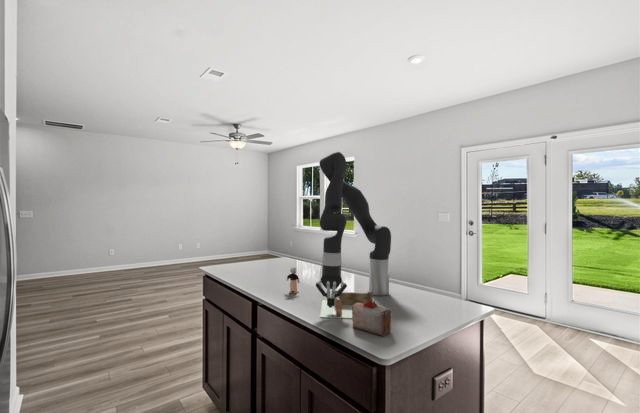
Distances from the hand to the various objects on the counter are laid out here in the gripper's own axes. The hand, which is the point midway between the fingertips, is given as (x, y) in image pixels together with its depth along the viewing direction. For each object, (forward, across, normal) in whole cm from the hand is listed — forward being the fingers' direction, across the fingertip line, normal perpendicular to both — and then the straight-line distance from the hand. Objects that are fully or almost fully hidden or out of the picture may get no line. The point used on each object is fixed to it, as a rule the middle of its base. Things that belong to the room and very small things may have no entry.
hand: (330, 306), depth 126 cm
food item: (+3, -14, +15) cm, 21 cm away
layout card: (+3, -8, -6) cm, 10 cm away
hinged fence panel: (+2, -3, -3) cm, 5 cm away
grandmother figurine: (+3, +18, -30) cm, 35 cm away
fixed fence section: (+2, -11, -10) cm, 15 cm away
